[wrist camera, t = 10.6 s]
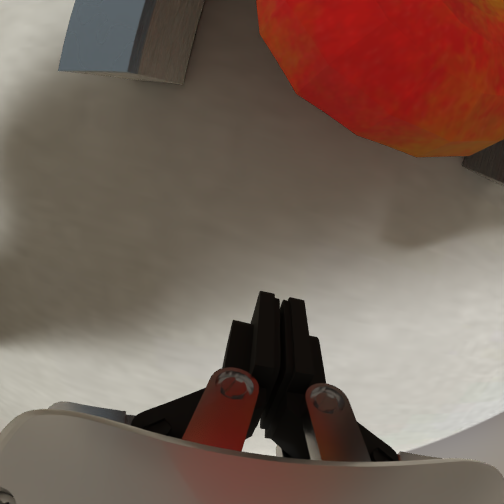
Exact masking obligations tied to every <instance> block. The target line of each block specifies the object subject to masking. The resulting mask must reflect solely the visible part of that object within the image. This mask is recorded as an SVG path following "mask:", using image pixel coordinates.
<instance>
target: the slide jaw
mask: <svg viewBox="0 0 504 504" xmlns="http://www.w3.org/2000/svg"><path fill="white" fill-rule="evenodd" d="M204 1H205V0H76V1H75V4H74V7H73V11H72V14H71V18H70V21H69V25H68V29H67V33H66V37H65V41H64V45H63V50H62V54H61V59H60V64H59V69H58V71H65V72H76V73H86V74H95V75H103V76H110V77H117V78H124V79H132V80H144V81H155V82H164V83H173V84H181V85H183V83H184V78H185V74H186V69H187V65H188V61H189V57H190V53H191V49H192V45H193V41H194V37H195V33H196V29H197V25H198V22H199V18H200V15H201V11H202V7H203V4H204Z"/></svg>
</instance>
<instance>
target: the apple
mask: <svg viewBox="0 0 504 504" xmlns="http://www.w3.org/2000/svg"><path fill="white" fill-rule="evenodd" d="M256 4H257V13H258V22H259V32H260V35H261V37H262V38H263V40H264V42H265V43H266V45H267V46H268V48H269V49H270V51H271V53H272V54H273V56H274V57H275V59H276V61H277V62H278V64H279V65H280V67H281V69H282V70H283V72H284V74H285V75H286V77H287V79H288V80H289V82H290V84H291V86H292V87H293V89H294V91H295V93H296V94H297V95H299V96H300V97H302V98H303V99H305V100H306V101H308V102H310V103H311V104H313V105H314V106H316V107H317V108H319V109H320V110H322V111H323V112H325V113H326V114H328V115H329V116H330V117H332V118H333V119H335V120H336V121H338V122H339V123H340V124H342V125H343V126H345V127H346V128H347V129H349V130H350V131H352V132H353V133H354V134H356V135H357V136H360V137H363V138H366V139H369V140H372V141H375V142H378V143H380V144H383V145H386V146H389V147H391V148H394V149H397V150H399V151H402V152H404V153H407V154H409V155H412V156H414V157H443V156H470V155H472V154H474V153H476V152H478V151H481V150H483V149H485V148H487V147H489V146H491V145H493V144H495V143H497V142H499V141H501V140H503V139H504V0H256Z"/></svg>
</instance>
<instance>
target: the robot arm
mask: <svg viewBox="0 0 504 504" xmlns="http://www.w3.org/2000/svg"><path fill="white" fill-rule="evenodd" d="M260 418H261V419H260ZM259 420H260V428H261V429H265V438H270V439H272V440H273V441H274V442H275V443H276V444H277V447H276V456H269V455H261V454H254V453H248V452H241V451H242V448H243V445H244V441H245V439H247V438H249V437H251V436H252V434H253V432H254V430H255V428H256V427H257V425H258V422H259ZM13 497H14V498H13ZM0 504H504V478H503V476H502V474H501V473H500V472H499V471H498V470H497V469H496V468H495V467H493V466H491V465H489V464H486V463H485V462H481V461H477V460H471V459H459V458H455V459H454V458H449V459H442V458H437V457H430V456H424V455H417V454H412V453H406V452H399V453H398V454H396V452H395V451H394V450H393V449H392V448H391V447H390V446H388V445H387V444H386V443H384V442H383V441H382V440H380V439H379V438H378V437H376V436H375V435H374V434H372V433H371V432H370V431H369V430H367V429H366V428H365V427H363V426H362V425H361V424H359V423H358V422H357V421H356V418H355V416H354V413H353V410H352V408H351V405H350V403H349V400H348V398H347V396H346V395H345V394H344V393H343V392H342V391H341V390H340V389H339V388H337V387H335V386H333V385H330V384H326V380H325V374H324V367H323V361H322V355H321V349H320V343H319V339H318V338H317V337H314V336H309V330H308V323H307V316H306V309H305V302H304V300H300V299H296V298H291V297H290V298H289V299H288V301H287V300H283V301H282V304H281V307H280V301H279V299H277V298H275V294H273V293H268V292H263V291H260V292H259V296H258V299H257V303H256V306H255V310H254V313H253V317H252V321H251V324H249V323H245V322H240V321H236V320H233V322H232V326H231V330H230V334H229V339H228V343H227V347H226V352H225V357H224V362H223V367H222V369H219V370H217V371H216V372H214V373H213V375H212V376H211V378H210V380H209V382H208V384H207V386H206V388H204V389H201V390H199V391H196V392H194V393H191V394H189V395H186V396H184V397H181V398H179V399H176V400H173V401H171V402H168V403H166V404H163V405H160V406H157V407H155V408H152V409H149V410H146V411H144V412H142V413H140V414H138V415H137V416H133V415H126V411H119V410H112V409H106V408H99V407H93V406H88V405H82V404H77V403H72V402H58V403H54V404H53V405H52V406H50V407H49V408H48V409H38V410H31V411H27V412H24V413H22V414H20V415H18V416H17V417H15V418H14V419H13V420H12V421H11V422H10V423H9V424H8V425H7V426H6V427H5V428H4V429H3V430H2V431H1V433H0Z"/></svg>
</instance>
